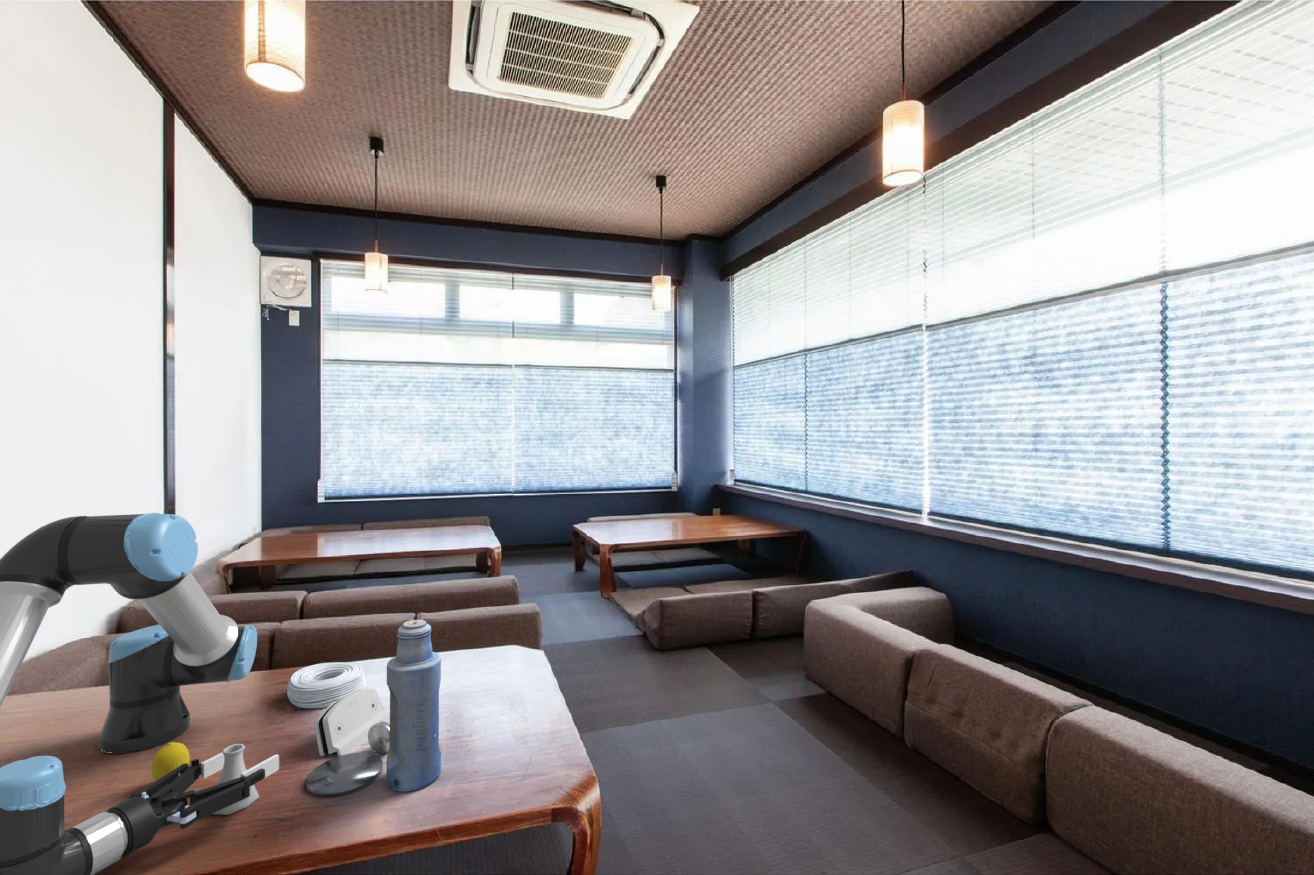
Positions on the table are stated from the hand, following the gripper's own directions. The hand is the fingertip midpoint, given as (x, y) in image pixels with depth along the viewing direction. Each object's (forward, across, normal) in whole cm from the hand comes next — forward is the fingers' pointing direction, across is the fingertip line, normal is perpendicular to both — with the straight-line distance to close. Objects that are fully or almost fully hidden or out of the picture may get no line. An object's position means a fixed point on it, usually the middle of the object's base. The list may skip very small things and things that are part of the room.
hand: (257, 756), depth 110 cm
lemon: (-4, -17, -6) cm, 19 cm away
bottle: (+13, +25, -6) cm, 29 cm away
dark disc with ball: (+15, +12, -6) cm, 20 cm away
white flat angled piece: (+20, +1, -6) cm, 21 cm away
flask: (-4, 0, -6) cm, 8 cm away
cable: (+34, -22, -6) cm, 41 cm away
